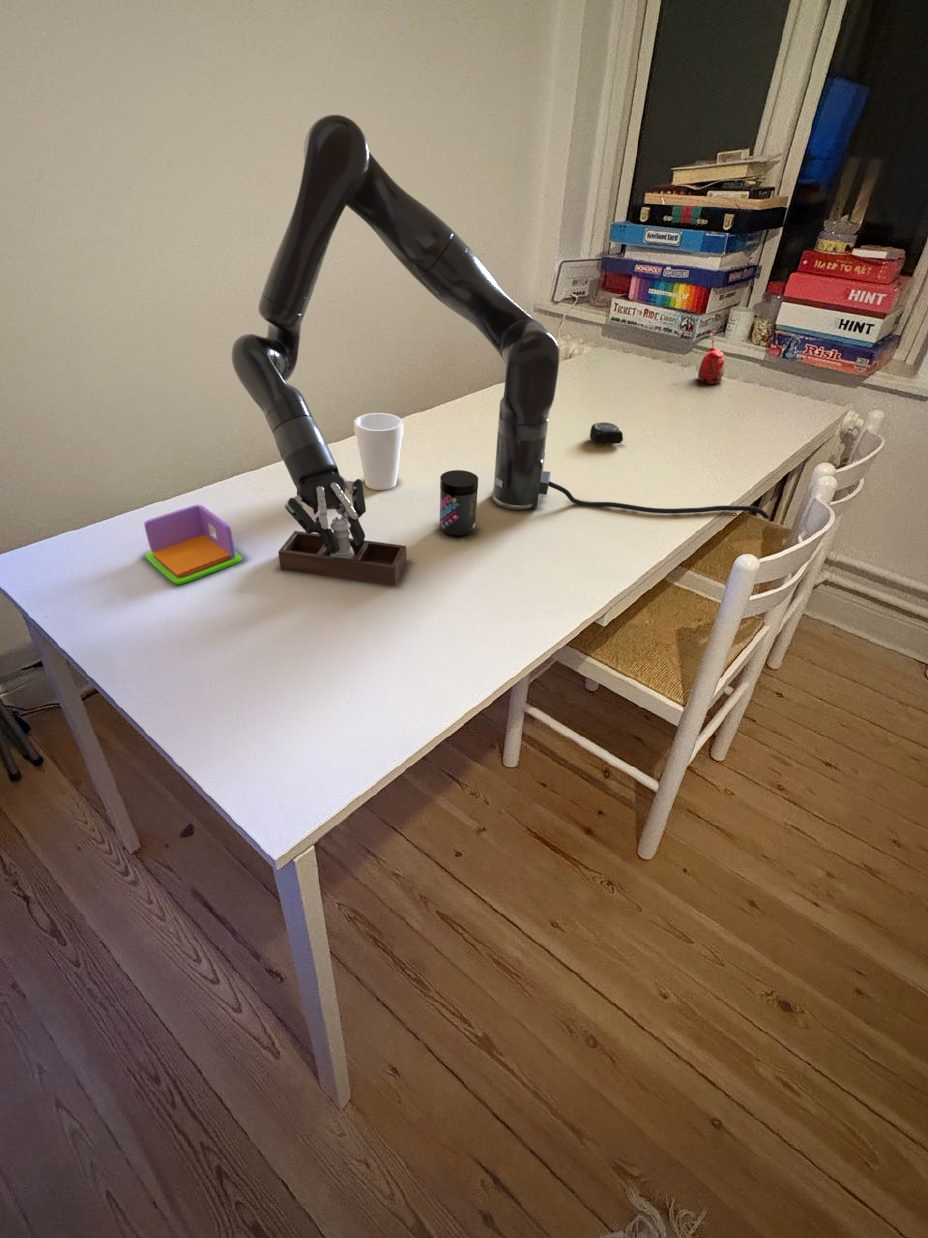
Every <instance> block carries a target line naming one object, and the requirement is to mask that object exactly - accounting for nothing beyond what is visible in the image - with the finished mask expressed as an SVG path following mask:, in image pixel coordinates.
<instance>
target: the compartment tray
mask: <svg viewBox="0 0 928 1238" xmlns="http://www.w3.org/2000/svg"><path fill="white" fill-rule="evenodd" d="M349 542H350V546H351V547H352V549H353V550H354V551H355V555H356V556H355V559H346V558H339V557H332V556H330V553H331V551H328V550H327V549H326V547H325V545H324V543H323V540H322V538H321V536H320V535H319V534H318V533H307V532H306V531H299V530H294V531H293V533H291V535H290V536H289V537H288V538H287V540H286V541H285V543H283V545H282V546H281V547H280V549H278V551H277V554H278V559H279V569H280V571H281V570H282V571H287V572H288V571H289V572H295V573H303V574H310V575H316V576H322V577H331V578H337V579H343V580H344V579H345V580H350V581H351V580H352V581H359V582H364V583H371V584H372V583H373V584H379V585H386V586H394V587H396V585H397V584H398V582H399V580H400V578H401V576H402V574H403V572H404V569H405V568H406V565H407V545H402V544H394V543H387V542H380V541H372V540H365V539H364V542H363V543H362V544H361V545H358V546H357V545H356V544H355V541H354V539H353V538H351V537H349Z"/></svg>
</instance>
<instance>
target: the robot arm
mask: <svg viewBox="0 0 928 1238" xmlns="http://www.w3.org/2000/svg"><path fill="white" fill-rule="evenodd" d="M303 159H304V163H303V169H302V172H301V173H302V174H301V179H300V183H299V189H298V192H297V197H296V199H295V204H294V207H293V210H292V214H291V216H290V219H289V221H288V223H287V224H288V225H287V227H286V229H285V231H284V234H283V237H282V239H281V240H280V243H279V246H278V248H277V250H276V252H275V255H274V257H273V259H272V261H271V262H272V263H271V265H270V268H269V271H268V272H267V276H266V279H265V282H264V285H263V288H262V291H261V294H260V295H259V296H260V297H259V300H258V303H257V311H258V312H257V313H258V314H259V316H260V317H261V318H262V319H263V320H264V321H265V322H266V323H267V331H266V332H267V333H266V336H262V335H257V334H252V333H244V334H242V335H240V336H238V337H237V338H235V340H234V342H233V343H232V346H231V350H230V360H231V365H232V369H233V371H234V374H235V375H236V376H237V378H238V381H239V382H240V384H241V385H242V386H243V388H244V389H245V391H246V392H247V393H248V394H249V396H250V397H251V398H252V400H253V401H254V402H255V404H256V405H257V406H258V407H259V408H260V410H261V412H262V413H263V414H264V417H265V420H266V422H267V424H268V426H269V428H270V430H271V433H272V435H273V438H274V440H275V445H276V447H277V449H278V452H279V456H280V458H281V459H282V460H283V463H284V465H285V467H286V469H287V472H288V474H289V476H290V479H291V480H292V483H293V485H294V487H295V488H296V495H295V496H294V497H290V498H289V499H288V500H287V502H286V503H285V505H284V508H285V510H286V512H287V513H289V515H291V517H292V518H293V519H294V520H295V521H296V523H298V525H299V526H300V527H301V528H302V529H303V530H304V532H307V533H315V534H319V535H320V536H321V538H322V540H323V543H324V545H325V547H326V549H327V550H328V551H331V553H332V554H335V553H337V552H338V551H339V550H340V548H339V545H338V543H337V541H336V539H335V536H334V534H333V532H334V531H333V529H332V528H331V527H330V528H329V520H328V510H335V511H336V513H337V514H338V515H340V516H341V517H344V520H345V518H347V519H348V522H349V523H350V525H351V526H350V528H349V529H348V531H349V532H350V535H351V537H352V539H354V541H355V544H356V545H357V546H358V545H361V544H362V543H363V542H364V540H365V539H366V534H365V531H364V529H363V527H362V524H361V523H360V521H359V520H360V518H361V517H362V516H363V515H364V514H365V513H366V511H367V507H366V501H365V499H366V498H365V492H364V491H365V490H364V485H363V484H364V483H363V481H362V479H360V478H357V479H355V480H347V479H345V477H344V476H342V475H341V473H340V472H339V468H338V465H337V463H336V461H335V459H334V456H333V454H332V452H331V449H330V447H329V446H328V443H327V441H326V439H325V437H324V435H323V432H322V430H321V429H320V427H319V425H318V424H317V422H316V420H315V418H314V417H313V415H312V412H311V410H310V408H309V406H308V404H307V401H306V399H305V397H304V395H303V394H302V393H301V390H299V389H298V388H296V387H295V386H293V385H291V384H289V383H288V382H287V381H288V380H289V379H290V378H291V377H292V375H293V373H294V371H295V369H296V366H297V362H298V358H299V349H300V341H301V331H302V329H301V328H302V322H303V320H304V318H305V315H306V312H307V309H308V307H309V304H310V301H311V299H312V296H313V293H314V290H315V287H316V285H317V281H318V278H319V276H320V271H321V269H322V265H323V263H324V260H325V257H326V253H327V251H328V248H329V245H330V242H331V239H332V238H333V234H334V232H335V230H336V227H337V226H338V223H339V220H340V218H341V217H342V215H343V213H344V211H345V208H346V207H348V208H349V209H350V210H351V211H352V212H354V214H356V215H357V216H358V217H359V218H360V219H362V220H363V221H364V222H365V223H366V225H368V226H369V227H370V228H371V229H372V231H373V232H375V234H376V235H377V236H378V237H379V239H380V240H381V242H382V243H383V244H384V245H385V246H386V247H387V249H388V250H389V251H390V252H391V253H392V254H393V256H394V257H395V258H396V259H397V260H398V262H400V263H401V265H402V266H403V267H404V268H405V269H406V270H407V272H409V273H410V275H412V277H413V278H414V279H416V280H417V281H418V282H419V283H420V284H421V285H422V286H423V287H424V288H425V289H426V290H427V291H428V292H429V293H430V294H431V296H433V297H435V298H436V300H438V301H439V302H440V303H442V304H443V305H444V306H445V307H446V308H448V309H450V310H451V311H452V312H454V313H456V314H457V315H459V316H460V317H462V318H463V319H464V320H466V321H468V322H469V323H470V324H472V325H473V326H474V327H475V328H476V329H477V330H478V331H479V332H480V333H481V334H482V335H483V336H484V337H485V338H486V340H487V341H488V342H489V343H490V344H491V346H492V347H493V348H494V349H495V350H496V352H497V353H498V354H499V356H500V357H501V359H502V360H503V362H504V364H505V380H504V390H503V396H502V397H501V399H500V401H499V411H498V424H497V437H496V451H495V464H494V478H493V487H492V497H491V498H492V501H493V502H494V503H495V504H496V505H497V506H499V507H501V508H503V509H506V510H507V509H508V510H511V511H525V510H530V509H535V510H537V509H538V507H539V504H540V498H541V495H544V496H547V495H548V491H549V487H550V488H552V489H554V490H556V491H559V492H561V493H563V495H565V496H566V497H567V499H568V500H569V501H570V502H571V503H572V504H575V505H578V506H583V507H592V508H593V507H594V508H617V509H623V510H624V509H625V510H630V511H636V512H642V513H651V514H693V513H695V514H696V513H708V512H709V513H710V512H717V511H718V512H719V511H729V512H731V511H733V512H734V511H735V512H745V511H746V512H754V513H756V514H758V515H760V516H761V517H762V518H763V519H770V516H769V515H768V513H767V512H766V511H765V510H763V509H762V508H760V507H757V506H753V505H712V506H701V507H680V508H679V507H677V508H662V507H661V508H660V507H647V506H642V505H641V506H640V505H636V504H635V505H634V504H629V503H622V502H614V501H584V500H580V499H578V498H575V497H574V496H573V494H572V493H571V492H570V491H569V490H568V489H566V488H565V487H564V486H561V485H560V484H558V483H555V482H552V481H551V471H546V470H545V471H544V467H545V458H546V445H547V443H546V442H547V436H548V435H547V434H548V426H549V419H550V411H551V409H552V407H553V405H554V401H555V395H556V391H557V390H556V389H557V382H558V376H559V368H560V348H559V344H558V342H557V341H556V339H555V338H554V336H553V335H552V334H551V332H550V331H549V330H548V329H547V328H546V327H545V326H544V325H543V324H542V323H540V321H538V320H536V319H535V318H534V317H532V316H531V314H528V313H527V311H525V310H524V309H523V308H522V307H521V306H520V305H518V304H517V303H516V302H515V301H514V300H512V299H511V298H510V297H509V296H508V295H507V294H506V292H504V291H503V289H502V288H501V286H499V284H498V283H497V281H496V280H495V278H494V277H493V276H492V274H491V273H490V271H489V270H488V269H487V267H486V266H485V265H484V263H483V262H482V261H481V259H479V257H478V256H477V255H476V253H475V252H474V251H473V250H472V249H471V248H470V246H469V245H467V243H465V241H464V240H463V239H462V238H461V237H460V236H459V235H458V234H457V232H455V231H454V230H453V228H451V227H450V226H449V225H448V224H447V223H446V222H444V221H443V220H442V219H441V218H440V217H439V216H438V215H437V214H435V212H433V211H432V210H430V208H428V207H427V206H425V205H424V204H423V203H421V202H420V201H419V200H417V199H416V198H415V197H413V196H412V195H411V194H409V193H408V192H407V191H405V190H404V189H403V188H402V187H401V186H400V185H399V184H398V183H396V182H395V181H394V179H393V178H392V177H391V176H390V175H389V173H388V172H387V171H386V170H385V169H384V168H383V166H381V164H380V162H378V161H377V159H376V158H375V157H374V156H373V154H372V153H371V152H370V147H369V144H368V140H367V138H366V136H365V134H364V132H363V131H362V129H361V128H360V126H359V125H358V124H357V122H355V121H354V120H352V119H351V118H349V117H347V116H345V115H341V114H328V115H325V116H323V117H321V118H319V119H317V121H315V122H314V123H313V124H312V126H311V127H310V128H309V130H308V132H307V134H306V137H305V139H304V144H303ZM346 490H347V493H348V494H349V495H350V496H351V501H352V503H351V502H350V500H349V499H348V498H347V496H346V495H345V494H346ZM304 504H305V505H306V506H308V507H309V508H311V512H312V517H311V515H310V514H309V513H308V512H307V511H306V509H304V508H303V507H304Z"/></svg>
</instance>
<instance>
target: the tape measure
mask: <svg viewBox="0 0 928 1238" xmlns="http://www.w3.org/2000/svg"><path fill="white" fill-rule="evenodd" d="M623 436H624V435H623V432H622V430H620V428H619V426H617V424H615V423H611V422H606V421H603V422H602V421H601V422H595V423H594V424H592V425H591V428H590V431H589V438H590V440H591V441H592V442H593V443H594V444H598V445H605V446H606V445H612V444H613V445H614V444H617V445H618V444H621V443H622V442H623V441H624V437H623Z"/></svg>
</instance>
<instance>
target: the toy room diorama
mask: <svg viewBox="0 0 928 1238" xmlns="http://www.w3.org/2000/svg"><path fill="white" fill-rule="evenodd" d="M143 525H144V530H145V535H146V539H147V542H148V546H149V548H150V551H147V552H146V553H145V558H146V559H147V560H148V562H149V563H151V564H152V565H153V567H155V568H156V569H157V570H158V571H159V572H160V573H161V574H163V576H165V577H166V578H167V579H168V580H170V582H172V583H173V584H174V585H178V586H179V585H184V584H187V583H189V582H192V581H195V580H197V579H199V578H203V577H205V576H208V575H210V574H213V573H215V572H218V571H221V570H223V569H225V568H228V567H231V566H233V565H236V564H239V563H240V562H241V561H242V556H241V555H240V554H239V552H237V551H236V550H235V545H234V539H233V534H232V529H231V526H230V525H229V524H228V523H227V522H225V521H224V520H223V519H221V518H220V517H219V516H217V514H214V513H213V512H212V511H211V510H209V509H208V508H206V507H205V506H203V504H194V505H190V506H187V507H184V508H181V509H177V510H174V511H172V512H168V513H164V514H162V515H159V516H156V517H153V518H149V519H148V520H145V521H144V524H143Z"/></svg>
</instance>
